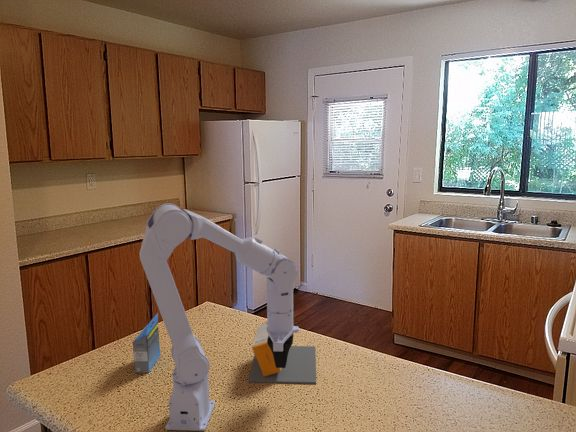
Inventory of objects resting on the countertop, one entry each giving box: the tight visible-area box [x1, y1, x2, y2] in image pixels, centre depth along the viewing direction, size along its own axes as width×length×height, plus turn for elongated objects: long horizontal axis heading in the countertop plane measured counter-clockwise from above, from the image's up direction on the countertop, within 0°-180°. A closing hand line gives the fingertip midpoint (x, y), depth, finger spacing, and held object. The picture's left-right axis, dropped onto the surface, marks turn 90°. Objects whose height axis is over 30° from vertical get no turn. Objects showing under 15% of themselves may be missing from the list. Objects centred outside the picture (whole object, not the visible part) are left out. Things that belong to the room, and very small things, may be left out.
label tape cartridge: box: [132, 312, 161, 374], centre depth 110 cm, size 9×4×12 cm, turn 179°
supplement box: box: [251, 322, 281, 376], centre depth 109 cm, size 8×5×13 cm
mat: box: [248, 345, 317, 385], centre depth 110 cm, size 18×16×1 cm
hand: (280, 366), depth 96 cm, fingers closed
